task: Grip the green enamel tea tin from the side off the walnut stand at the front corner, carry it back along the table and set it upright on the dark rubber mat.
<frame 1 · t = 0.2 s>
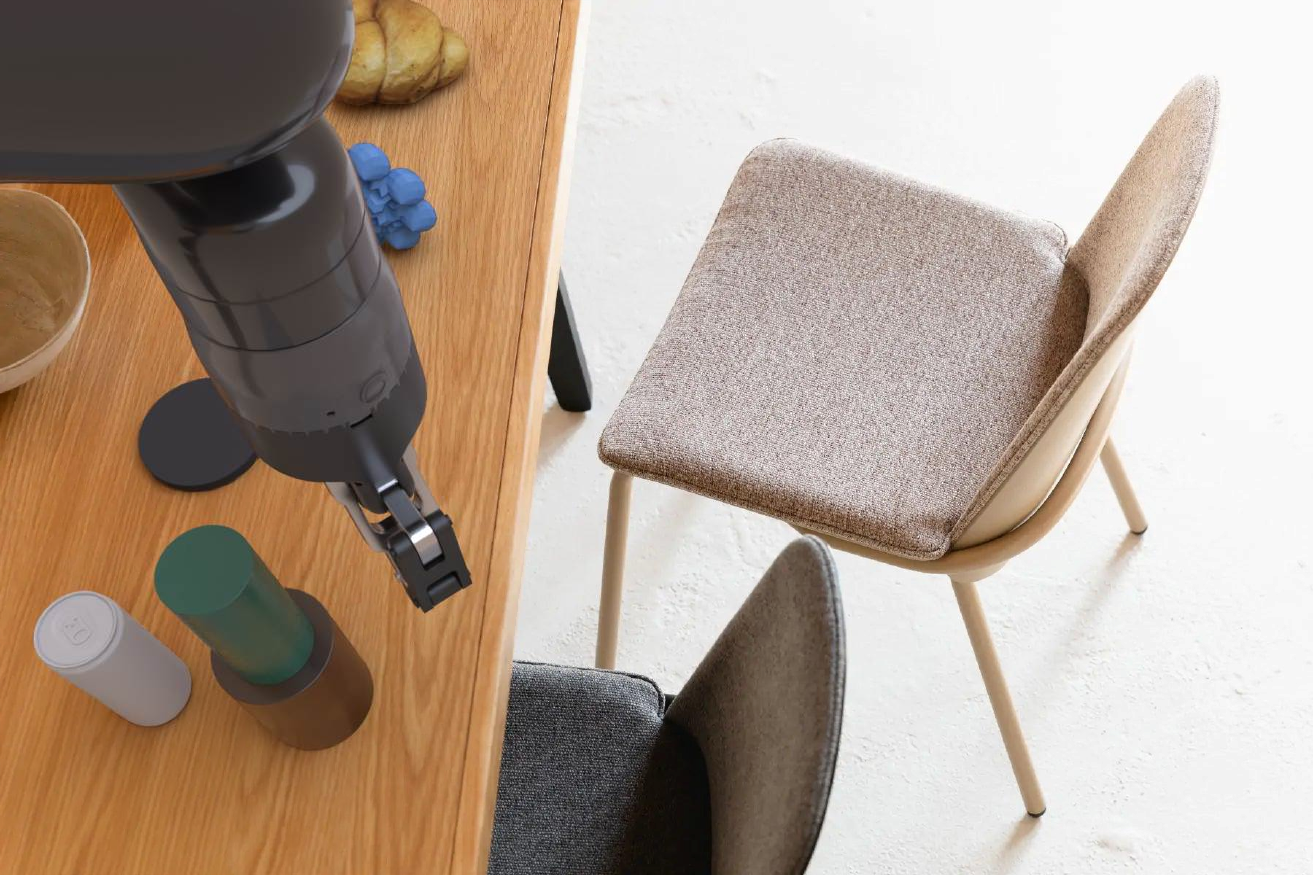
hand: (388, 526, 58), 21 cm above the table, tool pointing down, fingers open, 8 cm apart
mat: (206, 436, 85), on the table
beverage can: (159, 693, 76), on the table
grapes: (371, 256, 93), on the table
bread roll: (399, 82, 102), on the table
tea tin: (272, 644, 67), point 10 cm above the table, touching stand
stand: (319, 696, 75), on the table
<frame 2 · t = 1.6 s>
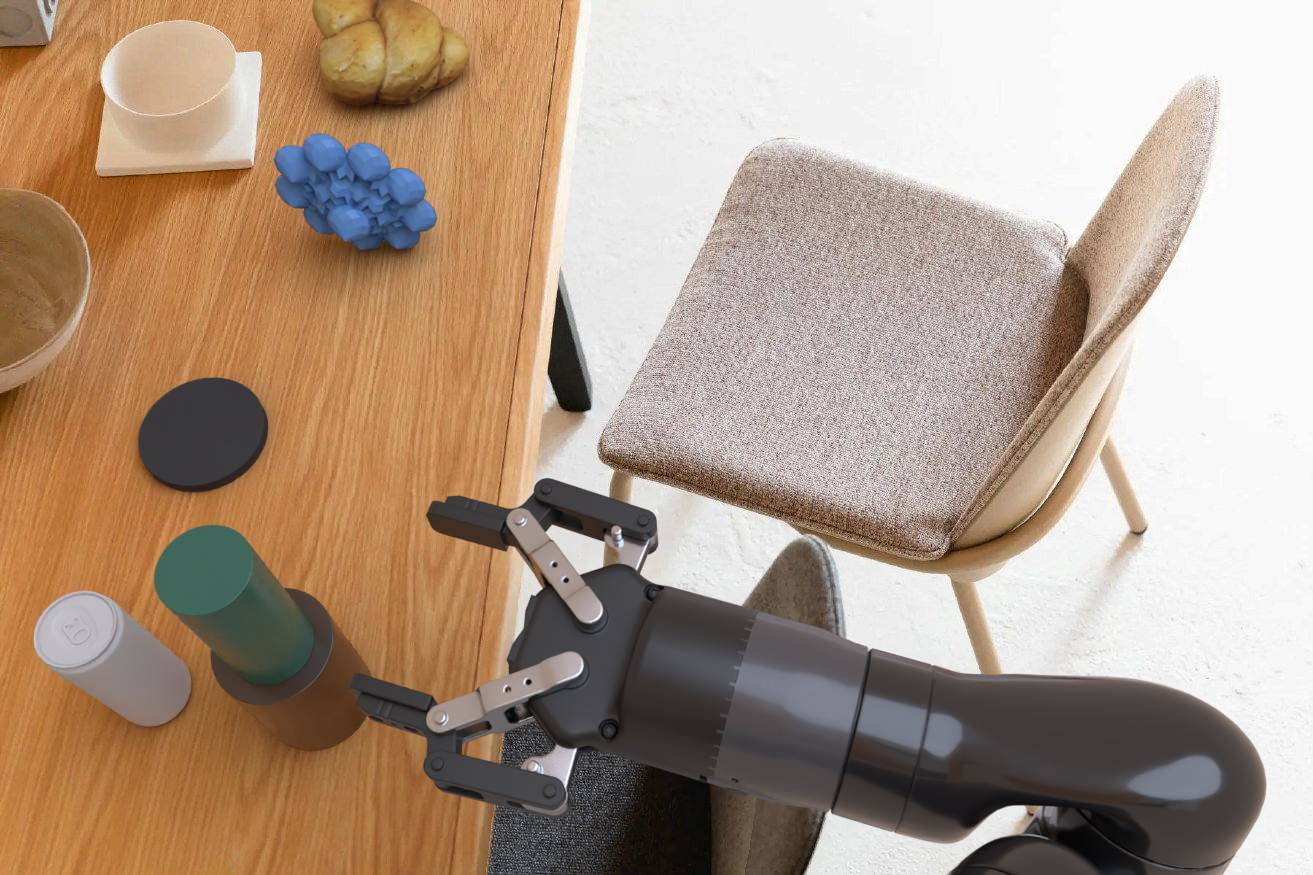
hand: (394, 598, 52), 24 cm above the table, tool horizontal, fingers open, 8 cm apart
nothing on the table moved.
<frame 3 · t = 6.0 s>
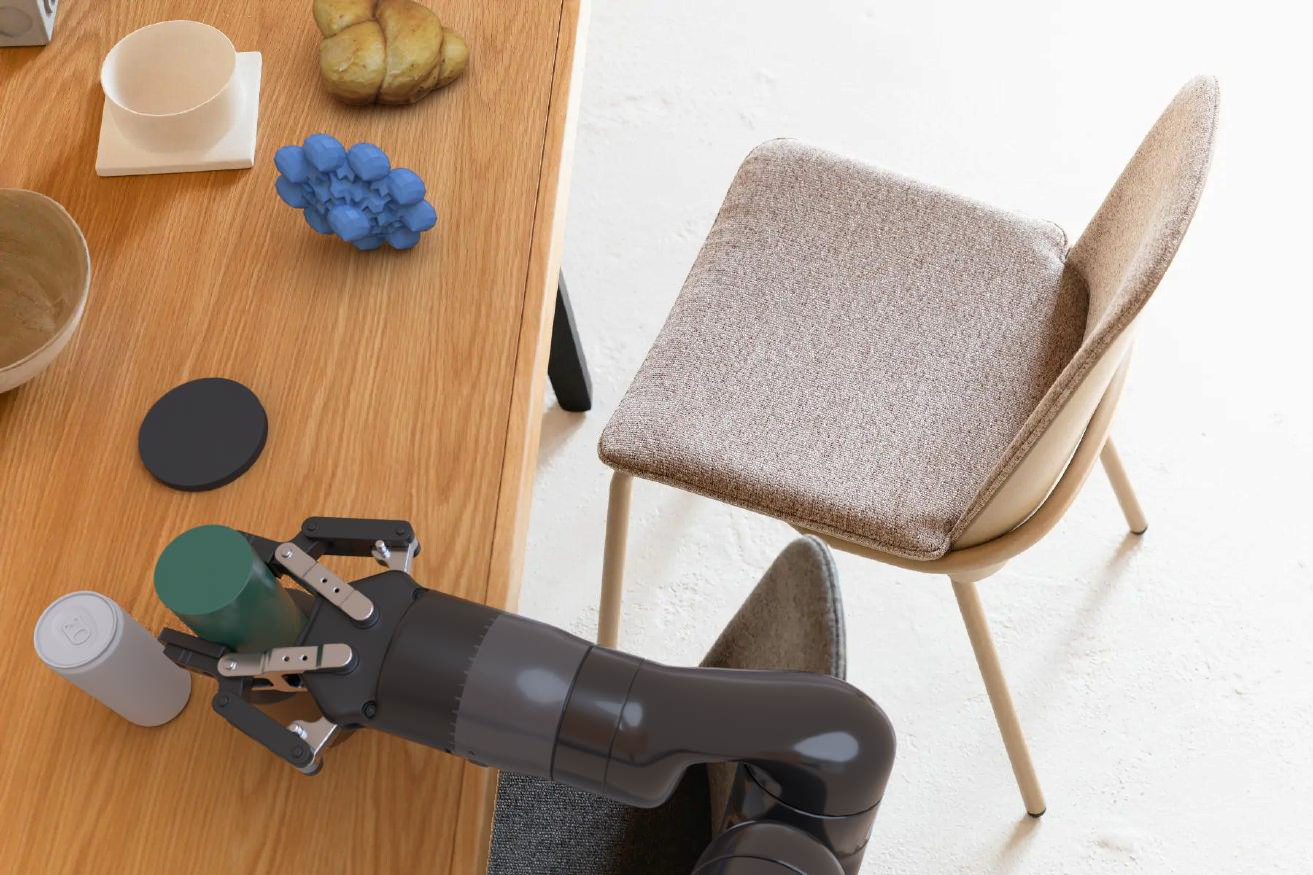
hand: (192, 592, 62), 16 cm above the table, tool horizontal, fingers closed on tea tin, 4 cm apart
tea tin: (271, 644, 67), point 10 cm above the table, touching gripper, stand
everything else where it was.
when the fingers open (7 cm above the table, at t = 16.0 s): tea tin stays where it is, resting on mat.
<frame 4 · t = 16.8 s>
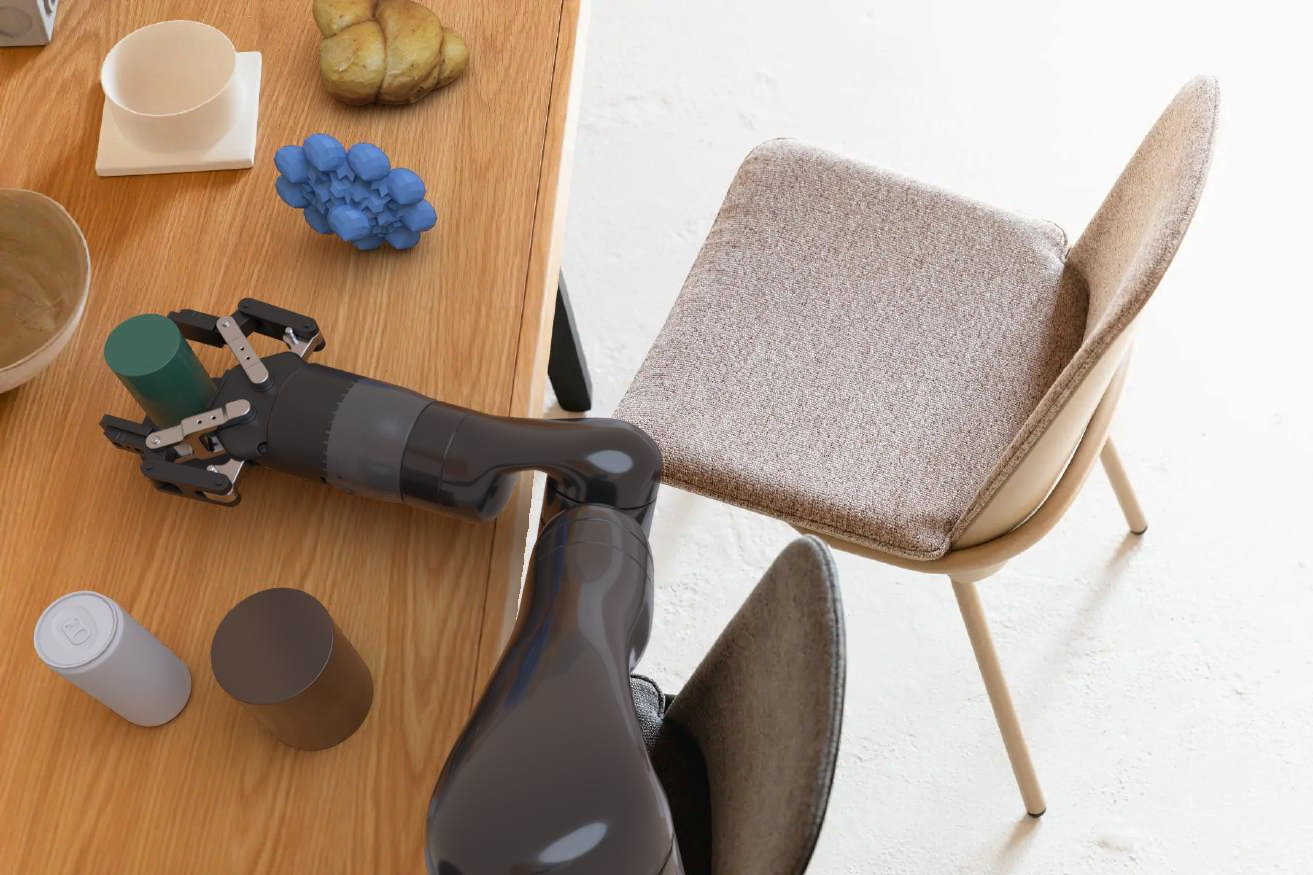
hand: (139, 373, 78), 8 cm above the table, tool horizontal, fingers open, 8 cm apart
tea tin: (203, 429, 84), point 1 cm above the table, touching mat
everything else where it was.
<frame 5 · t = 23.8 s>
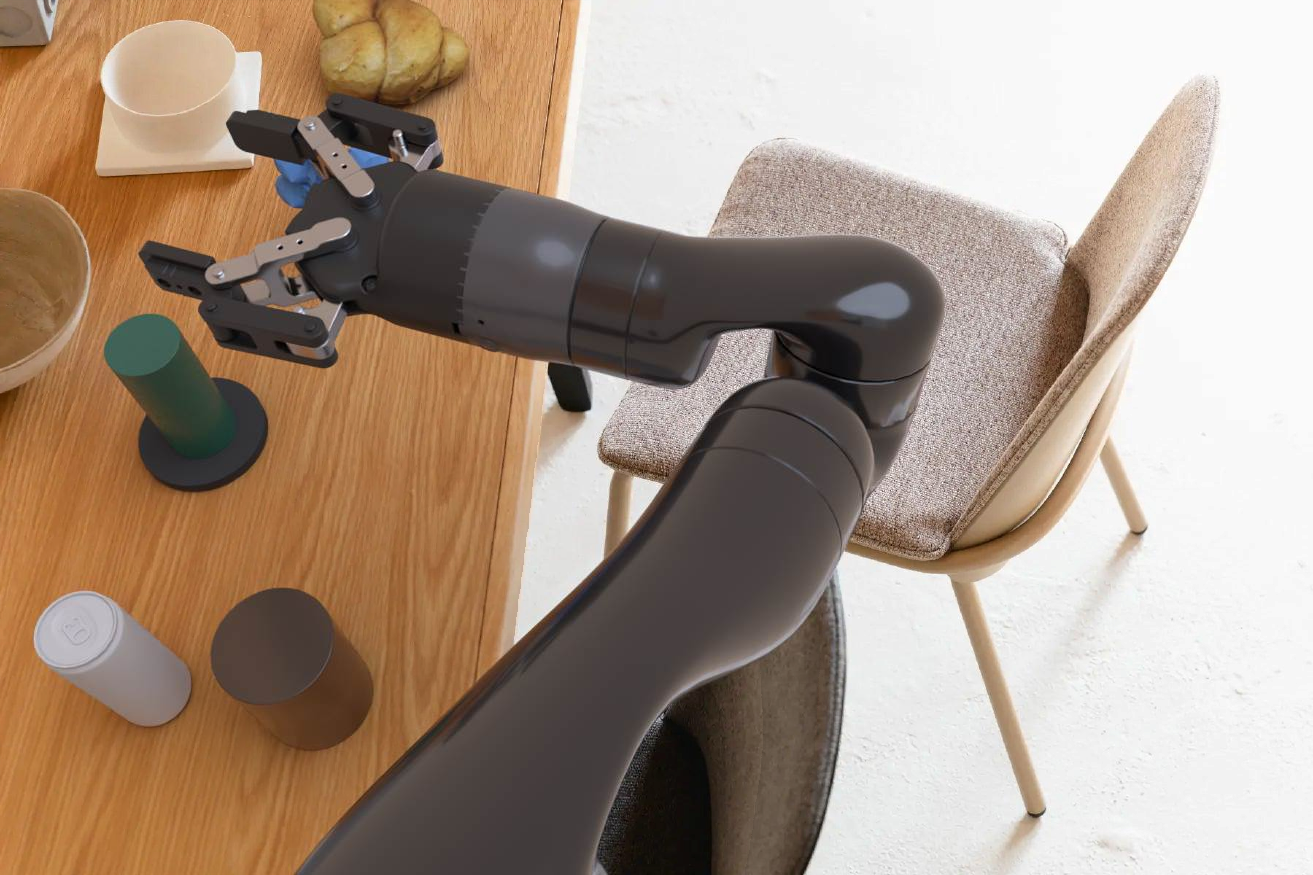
hand: (191, 192, 57), 30 cm above the table, tool horizontal, fingers open, 8 cm apart
nothing on the table moved.
at the end: tea tin 0.1 cm off-centre on the mat, point 1.0 cm above the mat's base; tea tin tilted 0°; the gripper is holding nothing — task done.
